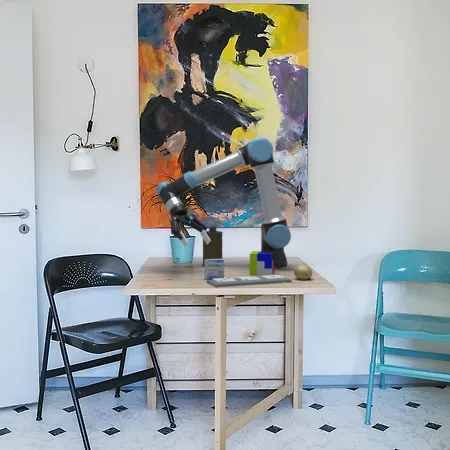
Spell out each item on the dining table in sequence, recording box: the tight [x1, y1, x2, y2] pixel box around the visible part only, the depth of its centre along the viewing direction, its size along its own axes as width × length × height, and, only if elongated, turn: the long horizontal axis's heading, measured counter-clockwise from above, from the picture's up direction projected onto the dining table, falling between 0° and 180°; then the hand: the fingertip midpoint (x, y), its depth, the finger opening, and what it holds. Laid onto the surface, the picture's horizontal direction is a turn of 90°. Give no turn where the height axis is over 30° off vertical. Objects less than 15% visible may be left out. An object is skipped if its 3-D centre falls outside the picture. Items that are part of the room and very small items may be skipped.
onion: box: [293, 263, 313, 281], centre depth 246 cm, size 8×8×7 cm
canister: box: [202, 226, 223, 267], centre depth 288 cm, size 11×10×20 cm
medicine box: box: [204, 258, 225, 281], centre depth 248 cm, size 8×4×9 cm, turn 106°
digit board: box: [206, 274, 293, 288], centre depth 239 cm, size 34×12×2 cm, turn 109°
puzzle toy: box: [249, 250, 275, 277], centre depth 261 cm, size 10×10×10 cm
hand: (197, 243), depth 255 cm, fingers open, 13 cm apart
